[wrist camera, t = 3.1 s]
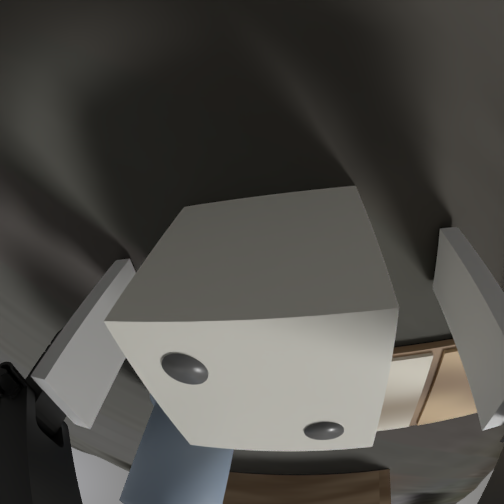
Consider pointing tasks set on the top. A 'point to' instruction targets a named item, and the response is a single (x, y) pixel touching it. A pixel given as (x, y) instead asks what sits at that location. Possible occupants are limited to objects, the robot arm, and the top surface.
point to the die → (265, 322)
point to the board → (425, 386)
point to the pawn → (175, 467)
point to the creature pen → (309, 488)
